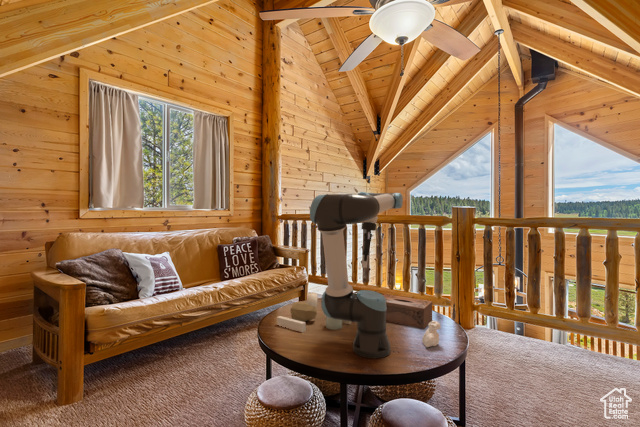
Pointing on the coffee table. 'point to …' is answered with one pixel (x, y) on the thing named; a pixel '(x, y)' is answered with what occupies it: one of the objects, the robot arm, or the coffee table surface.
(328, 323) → the pale green egg
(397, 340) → the coffee table surface
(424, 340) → the bust
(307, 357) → the coffee table surface
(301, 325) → the rail
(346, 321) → the birch box
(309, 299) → the cream capsule
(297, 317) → the low-poly potato
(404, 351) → the coffee table surface
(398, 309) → the tissue box cover
